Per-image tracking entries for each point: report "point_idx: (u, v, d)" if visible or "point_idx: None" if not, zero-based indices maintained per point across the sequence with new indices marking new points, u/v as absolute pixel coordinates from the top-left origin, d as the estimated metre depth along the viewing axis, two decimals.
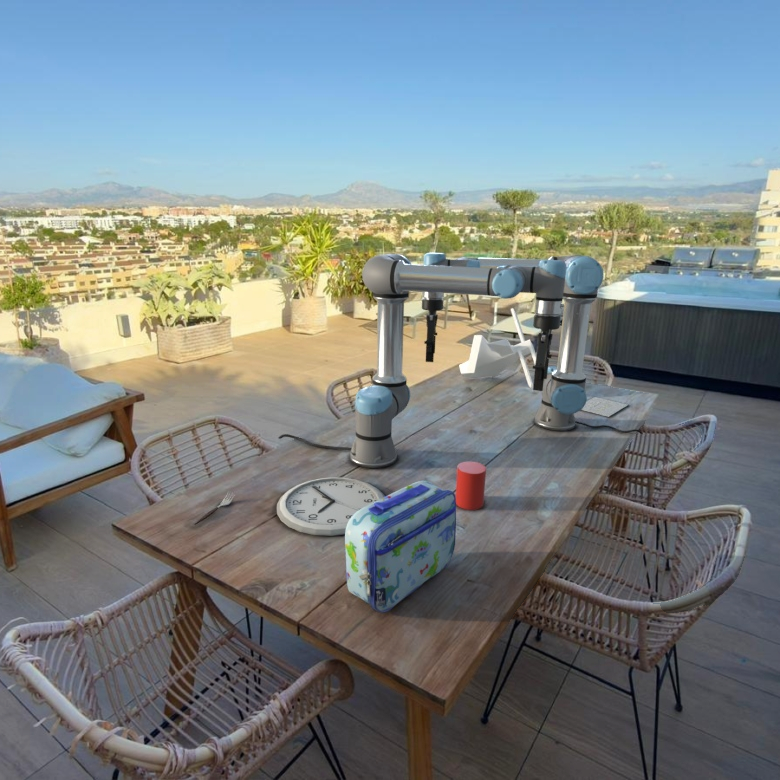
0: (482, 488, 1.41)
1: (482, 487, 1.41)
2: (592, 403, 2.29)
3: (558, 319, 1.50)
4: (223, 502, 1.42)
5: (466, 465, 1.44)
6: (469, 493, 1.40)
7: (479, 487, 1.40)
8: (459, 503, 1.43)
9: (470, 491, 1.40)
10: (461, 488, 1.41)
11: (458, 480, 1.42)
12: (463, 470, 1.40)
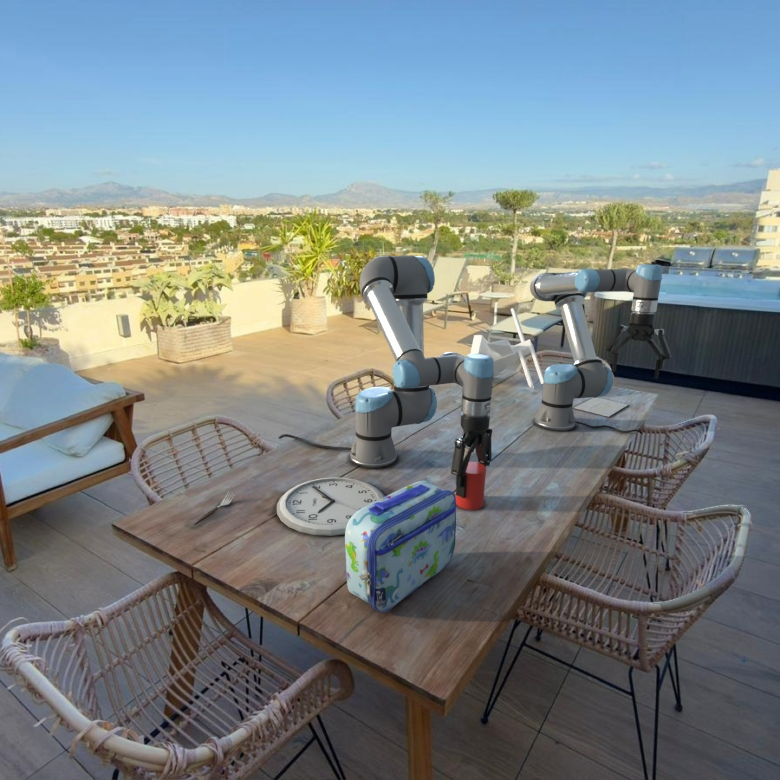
0: (482, 488, 1.41)
1: (482, 487, 1.41)
2: (592, 403, 2.29)
3: (481, 421, 1.34)
4: (223, 502, 1.42)
5: None
6: (469, 493, 1.40)
7: (479, 487, 1.40)
8: (459, 503, 1.43)
9: (470, 491, 1.40)
10: None
11: None
12: None
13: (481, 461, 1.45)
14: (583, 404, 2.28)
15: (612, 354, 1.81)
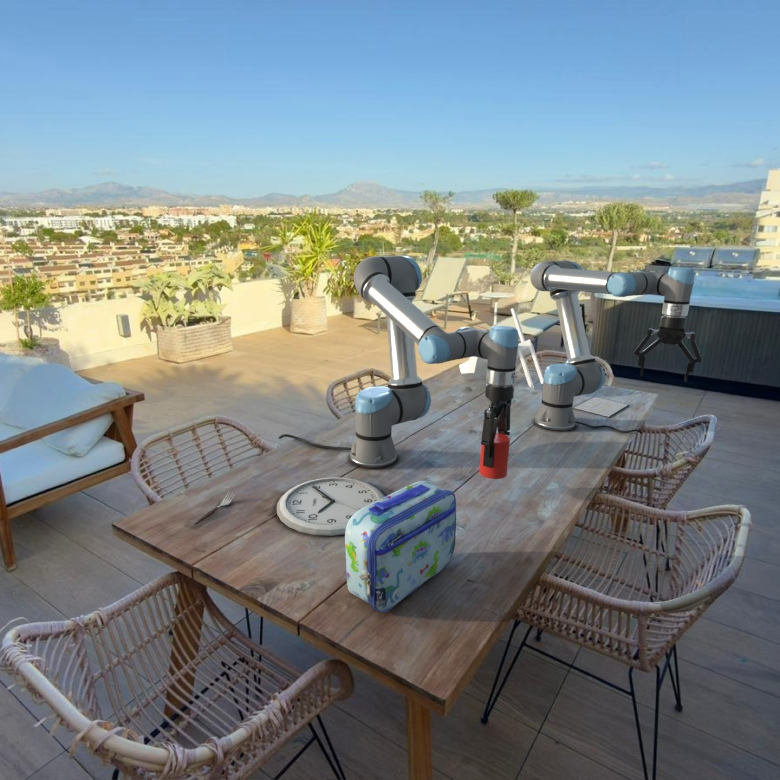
0: (507, 457, 1.45)
1: (507, 456, 1.45)
2: (592, 403, 2.29)
3: (509, 390, 1.38)
4: (223, 502, 1.42)
5: None
6: (497, 463, 1.44)
7: (505, 456, 1.44)
8: (485, 473, 1.46)
9: (498, 460, 1.44)
10: None
11: None
12: None
13: (501, 431, 1.50)
14: (583, 404, 2.28)
15: (640, 358, 1.79)
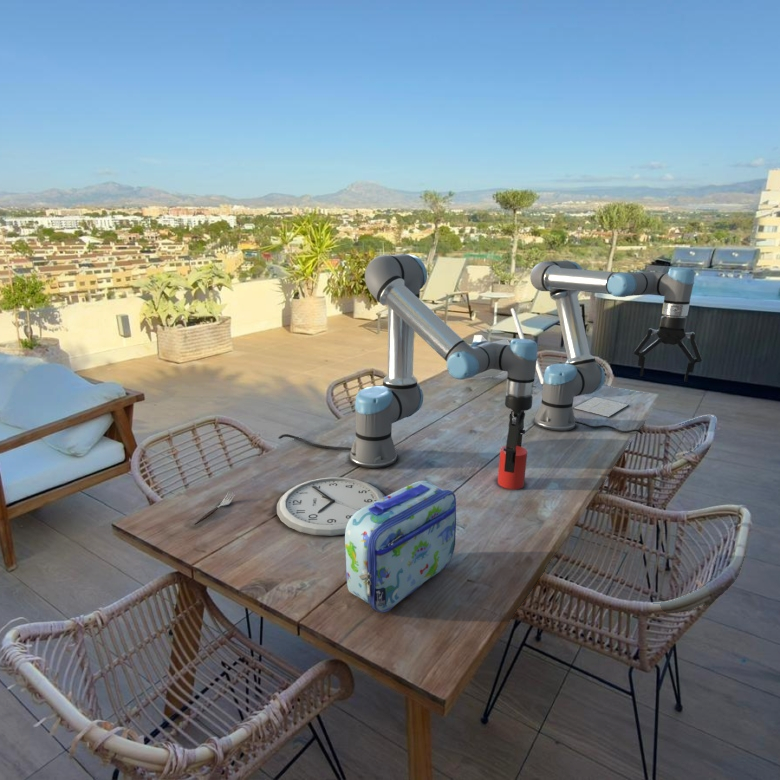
0: (525, 467, 1.54)
1: (525, 466, 1.54)
2: (592, 403, 2.29)
3: (530, 400, 1.46)
4: (223, 502, 1.42)
5: None
6: (518, 474, 1.52)
7: (525, 466, 1.53)
8: (506, 485, 1.53)
9: (518, 472, 1.52)
10: None
11: None
12: None
13: None
14: (583, 404, 2.28)
15: (640, 358, 1.79)
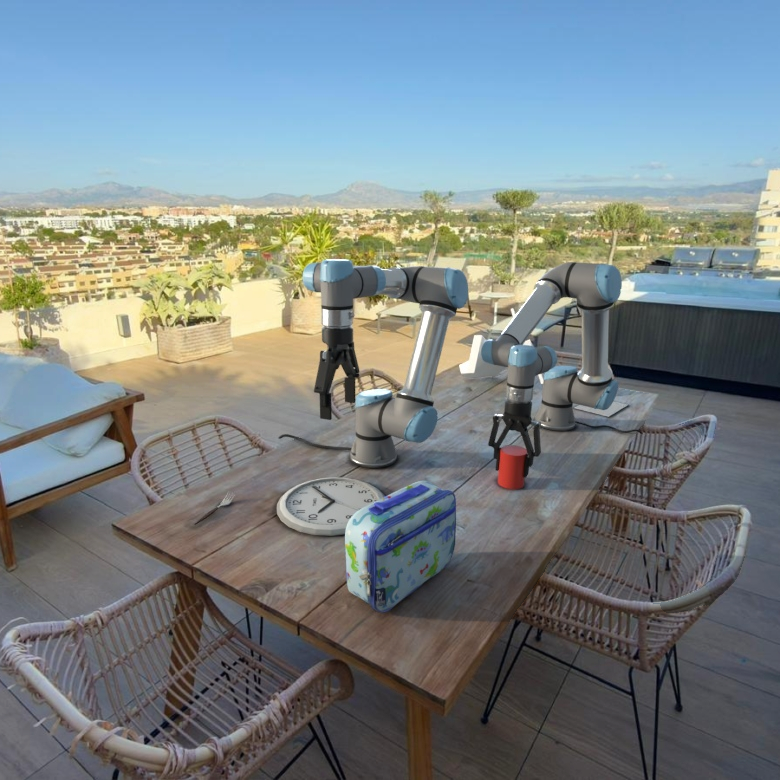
0: None
1: None
2: None
3: (346, 332, 1.22)
4: (223, 502, 1.42)
5: (507, 448, 1.55)
6: (518, 474, 1.52)
7: None
8: (506, 485, 1.53)
9: (518, 472, 1.52)
10: (509, 471, 1.52)
11: (505, 464, 1.52)
12: (511, 454, 1.51)
13: (350, 375, 1.35)
14: None
15: (495, 450, 1.56)
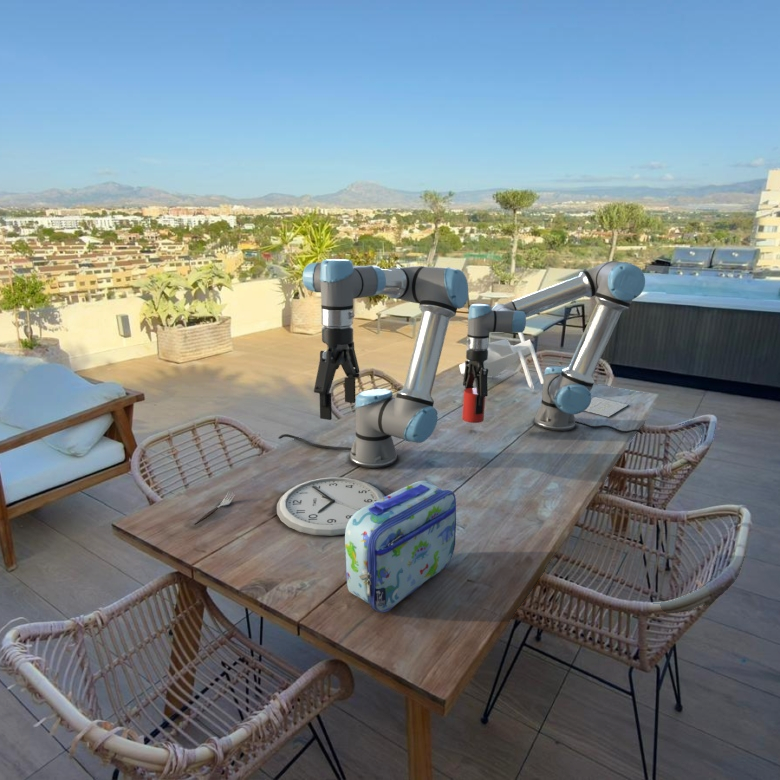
0: None
1: None
2: (592, 403, 2.29)
3: (346, 332, 1.22)
4: (223, 502, 1.42)
5: (472, 389, 1.90)
6: (469, 409, 1.87)
7: None
8: (463, 417, 1.90)
9: (470, 407, 1.87)
10: (464, 405, 1.88)
11: (463, 399, 1.89)
12: (466, 391, 1.87)
13: (350, 375, 1.35)
14: None
15: None
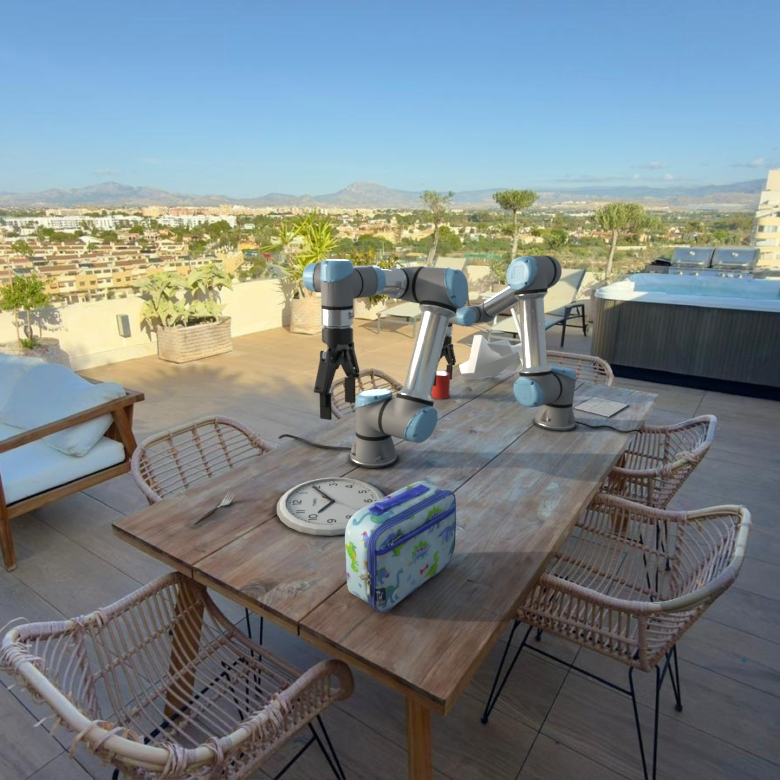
0: (437, 386, 2.32)
1: (437, 385, 2.32)
2: (592, 403, 2.29)
3: (346, 332, 1.22)
4: (223, 502, 1.42)
5: (443, 372, 2.35)
6: None
7: None
8: None
9: None
10: None
11: None
12: None
13: (350, 375, 1.35)
14: (583, 404, 2.28)
15: None
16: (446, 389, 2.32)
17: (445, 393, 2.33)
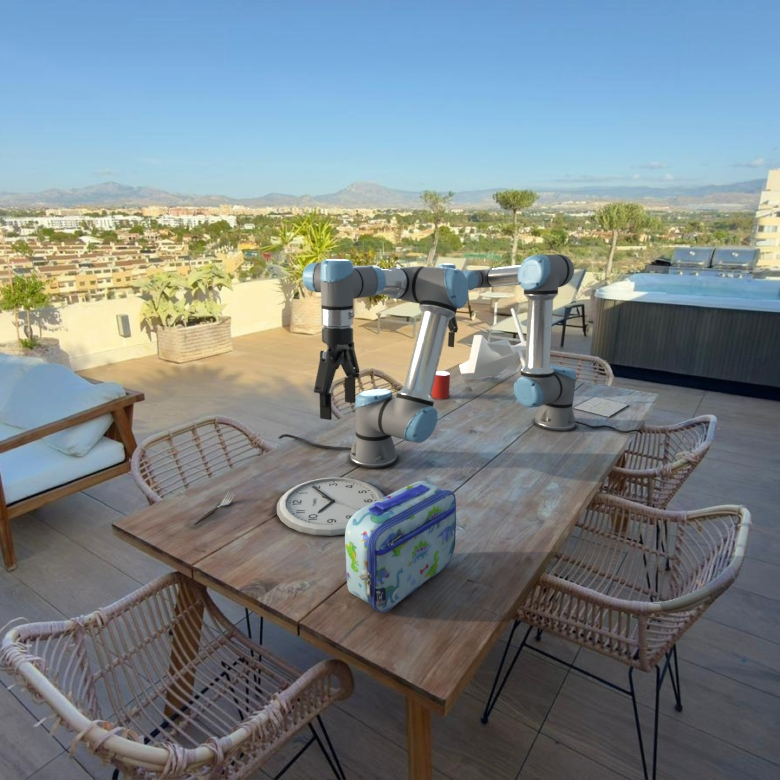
0: (437, 386, 2.32)
1: (437, 385, 2.32)
2: (592, 403, 2.29)
3: (346, 332, 1.22)
4: (223, 502, 1.42)
5: (443, 372, 2.35)
6: None
7: (435, 384, 2.32)
8: None
9: None
10: None
11: None
12: None
13: (350, 375, 1.35)
14: (583, 404, 2.28)
15: None
16: (446, 389, 2.32)
17: (445, 393, 2.33)
